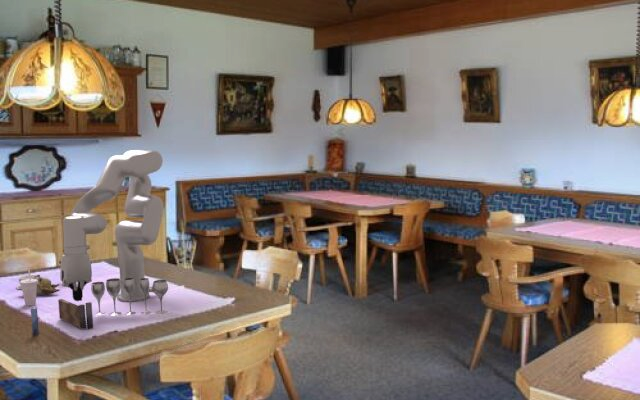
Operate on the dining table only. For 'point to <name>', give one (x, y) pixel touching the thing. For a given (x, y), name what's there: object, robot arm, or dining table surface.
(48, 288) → the ceramic sculpture
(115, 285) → the goblet set
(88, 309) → the grey upright cylinders
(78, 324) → the gate
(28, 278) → the teacup
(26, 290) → the smoothie
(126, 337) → the dining table surface
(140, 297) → the robot arm
